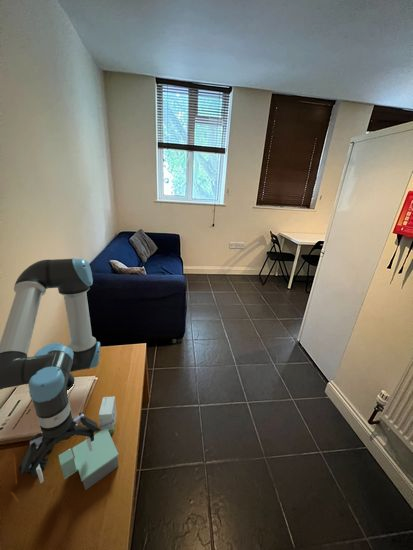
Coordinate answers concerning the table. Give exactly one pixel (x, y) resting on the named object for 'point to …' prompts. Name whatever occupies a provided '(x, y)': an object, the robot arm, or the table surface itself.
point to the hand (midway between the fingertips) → (67, 462)
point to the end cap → (44, 461)
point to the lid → (89, 456)
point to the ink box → (108, 414)
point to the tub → (100, 473)
